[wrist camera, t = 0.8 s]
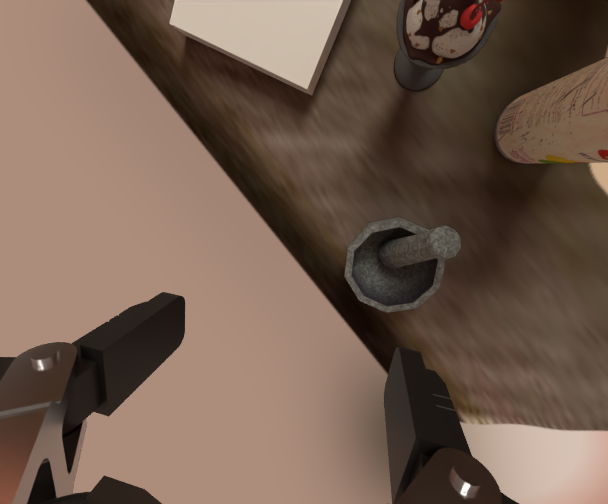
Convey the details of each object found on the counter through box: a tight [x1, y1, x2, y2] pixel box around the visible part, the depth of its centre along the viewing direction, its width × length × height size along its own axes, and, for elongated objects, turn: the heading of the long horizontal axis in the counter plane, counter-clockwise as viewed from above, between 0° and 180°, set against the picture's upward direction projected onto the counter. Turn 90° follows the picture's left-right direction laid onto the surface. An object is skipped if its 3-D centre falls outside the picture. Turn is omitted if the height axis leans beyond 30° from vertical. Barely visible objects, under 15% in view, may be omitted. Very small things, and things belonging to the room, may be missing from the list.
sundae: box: [394, 0, 502, 90], centre depth 23 cm, size 7×7×15 cm
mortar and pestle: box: [345, 217, 461, 313], centre depth 30 cm, size 11×9×12 cm
